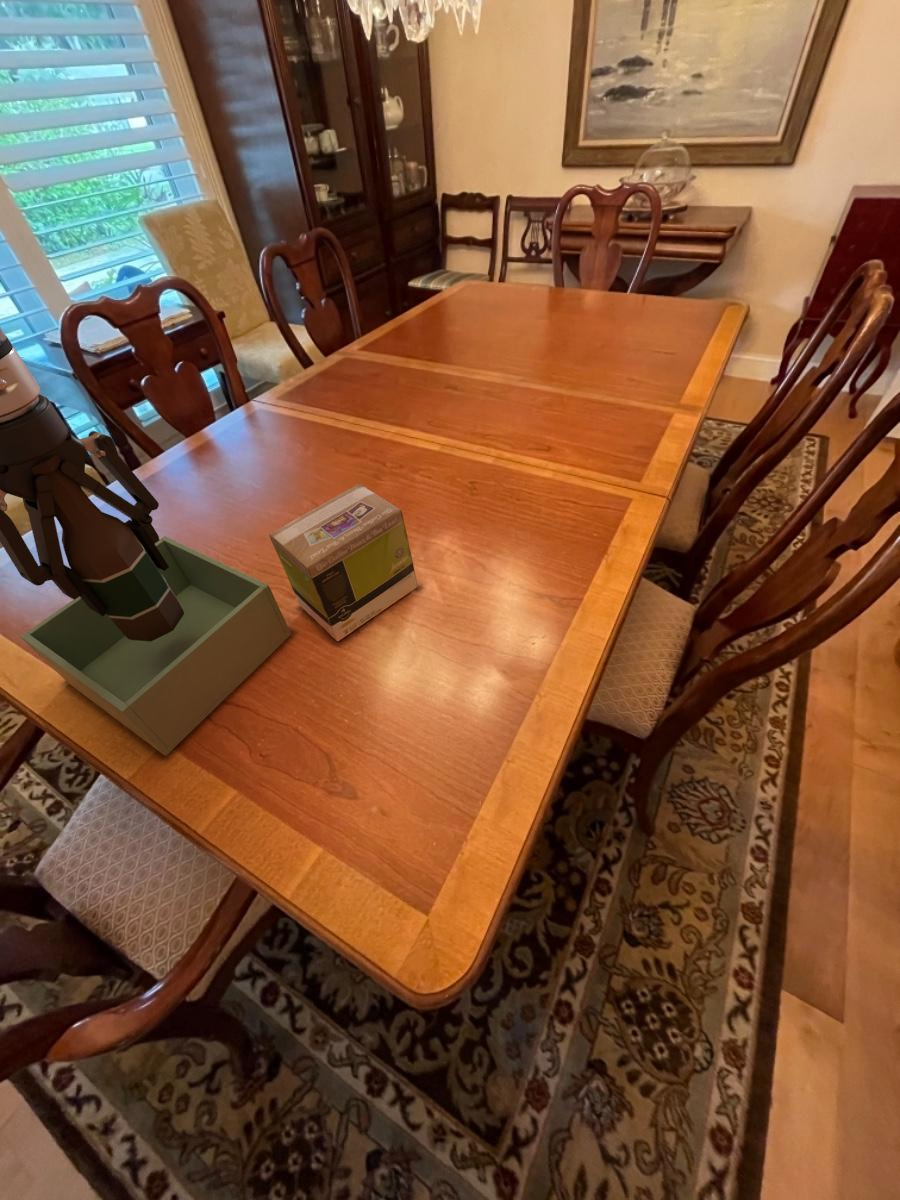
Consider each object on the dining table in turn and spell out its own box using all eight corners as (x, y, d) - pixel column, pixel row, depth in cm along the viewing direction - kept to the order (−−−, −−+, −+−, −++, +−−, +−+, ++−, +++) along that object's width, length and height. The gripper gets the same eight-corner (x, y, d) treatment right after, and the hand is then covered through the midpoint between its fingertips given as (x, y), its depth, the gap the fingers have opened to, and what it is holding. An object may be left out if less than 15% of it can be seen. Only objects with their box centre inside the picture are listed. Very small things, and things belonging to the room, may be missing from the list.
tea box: (379, 558, 86) (360, 479, 75) (419, 588, 80) (405, 508, 69) (299, 608, 79) (266, 530, 69) (336, 645, 74) (307, 567, 63)
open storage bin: (165, 756, 64) (122, 711, 57) (68, 683, 73) (19, 636, 66) (291, 634, 76) (268, 584, 69) (194, 584, 85) (165, 535, 78)
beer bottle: (148, 653, 65) (17, 488, 48) (111, 630, 68) (-26, 468, 51) (198, 611, 69) (94, 445, 52) (161, 591, 72) (51, 429, 55)
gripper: (-112, 478, 41) (67, 659, 57) (124, 368, 52) (217, 546, 68) (-149, 455, 44) (31, 633, 60) (82, 356, 55) (180, 529, 72)
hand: (130, 586), depth 64 cm, fingers closed on beer bottle, 8 cm apart
